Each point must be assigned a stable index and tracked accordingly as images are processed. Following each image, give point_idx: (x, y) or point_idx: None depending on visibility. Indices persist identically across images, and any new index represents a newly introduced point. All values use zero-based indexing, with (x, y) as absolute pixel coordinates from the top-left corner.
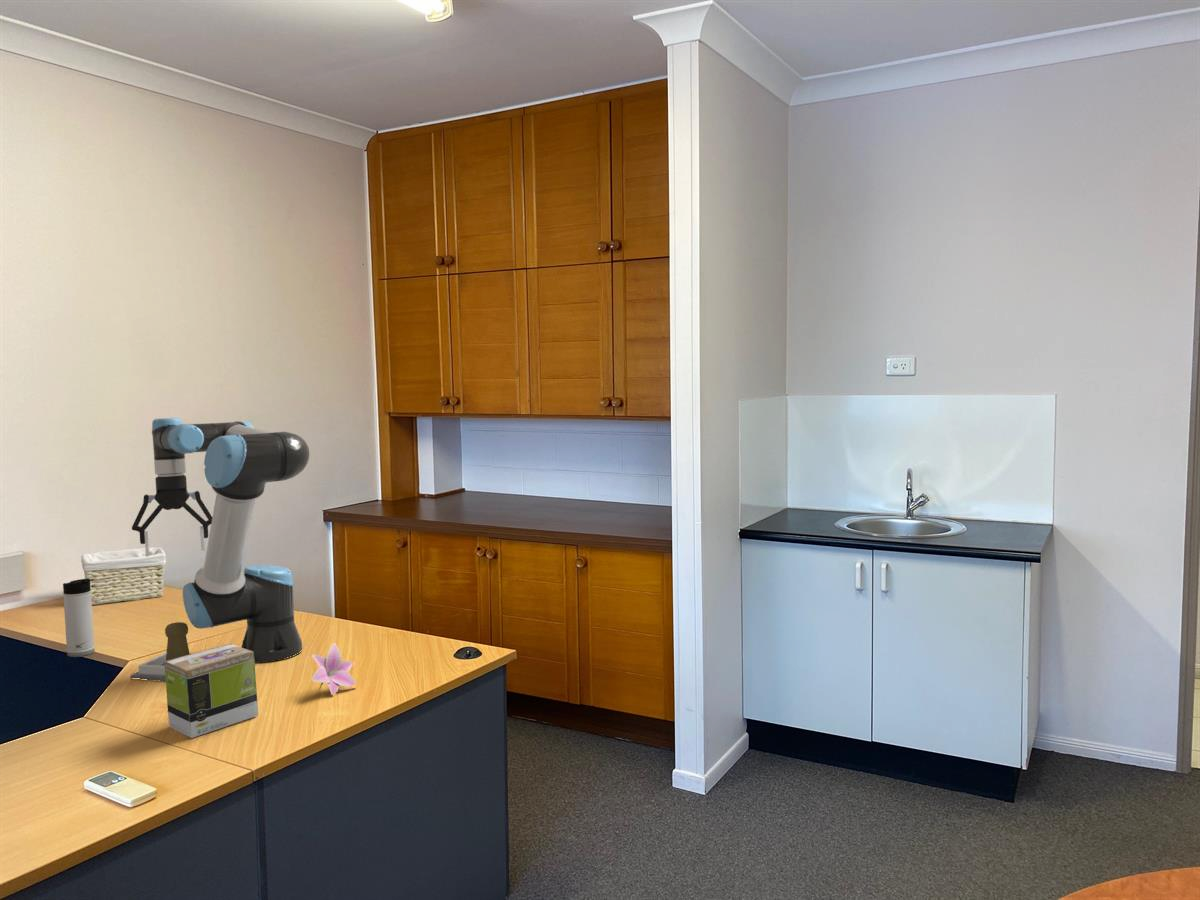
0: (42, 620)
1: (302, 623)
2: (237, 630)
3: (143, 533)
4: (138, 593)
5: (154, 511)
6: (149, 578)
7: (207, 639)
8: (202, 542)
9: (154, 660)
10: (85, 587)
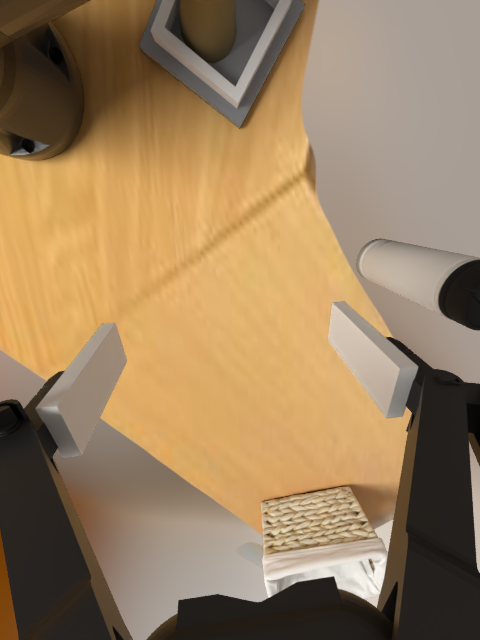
0: (405, 442)
1: (2, 299)
2: (126, 298)
3: (414, 374)
4: (292, 503)
5: (470, 543)
6: (282, 528)
7: (174, 260)
8: (93, 344)
9: (260, 38)
10: (466, 273)
